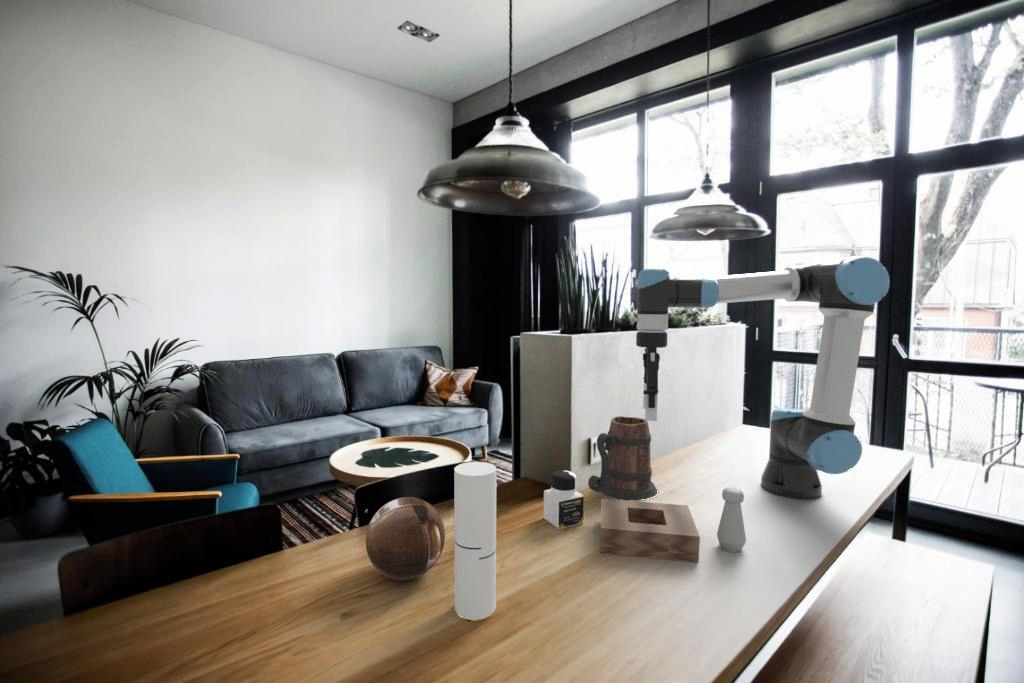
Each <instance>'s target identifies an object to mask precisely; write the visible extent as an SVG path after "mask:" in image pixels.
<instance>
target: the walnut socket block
mask: <svg viewBox="0 0 1024 683" xmlns="http://www.w3.org/2000/svg"><path fill="white" fill-rule="evenodd" d="M600 502H601V503H600V504H601V506H600V533H599V536H600V539H599V553H600V554H607V553H608V554H609V555H619V556H621V555H622V556H627V555H628V556H631V557H640V558H648V559H649V558H650V559H661V560H670V561H681V562H690V563H692V562H693V563H699V562H700V539H701V536H700V534H699V531H698V529H697V526H696V523H695V521H694V518H693V516H692V513H691V511H690V507H689V505H687V504H685V505H684V504H672V503H661V502H649V501H648V502H645V501H627V500H620V499H612V498H610V499H609V498H608V499H607V498H601V501H600Z"/></svg>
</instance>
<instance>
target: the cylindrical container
mask: <svg viewBox="0 0 1024 683" xmlns="http://www.w3.org/2000/svg"><path fill="white" fill-rule="evenodd" d="M453 470H454V474H453V476H454V478H453V480H454V484H453V485H454V489H453V490H454V492H453V494H454V502H453V503H454V505H453V506H454V507H453V509H454V512H453V513H454V514H453V515H454V516H453V517H454V527H453V528H454V612H455V611H456V612H457V613H458V614H459V615H461V616H462V617H464V618H467V619H475V620H476V619H481V618H485V617H487V616H490V615H491V614H492V613H493V612H494V611H495V609H496V610H497V466H496V465H495V464H492V463H489V462H483V461H469V462H468V461H467V462H463V463H459V464H458V465H456V466H455V467H454V468H453ZM495 612H496V611H495Z"/></svg>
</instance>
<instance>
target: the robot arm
mask: <svg viewBox="0 0 1024 683" xmlns="http://www.w3.org/2000/svg"><path fill="white" fill-rule="evenodd" d="M637 276H638V277H637V278H638V279H637V287H636V290H637V295H636V296H637V303H636V304H637V305H636V306H637V309H636V310H637V311H636V312H637V313H636V315H637V317H634V322H636V329H637V330H639V331H637V332H636V337H635V338H636V339H635V340H636V341H635V344H636V346H637V347H639V348H644V353H643V354H642V360H643V370H644V372H643V373H644V374H643V393H642V394H643V400H642V401H643V402H642V403H643V404H642V408H643V409H644V410H645V411H644V419H645V421H647V422H658V421H657V420H658V396H659V395H658V393H659V371H660V370H659V369H660V362H661V361H660V359H661V357H660V353H659V352H658V350H657V349H658V348H659V349H663V348H666V347H667V346H668V333H667V332H666V331H667V330H668V329H669V308H684V309H685V308H691V309H692V308H694V309H695V308H696V309H697V308H698V309H699V308H700V309H704V308H713V307H715V306H716V305H717V304H726V303H727V304H728V303H730V304H731V303H740V302H741V303H743V302H744V303H745V302H756V301H769V300H785V301H786V302H788V303H789V302H791V303H792V302H809V303H819V304H818V310H819V311H820V313H821V314H822V315H823V322H822V329H821V336H820V342H819V350H818V356H817V363H816V366H815V367H816V368H815V375H814V381H813V388H812V393H811V400H810V407H809V408H808V409H803V408H775V409H774V410H772V412H771V417H770V420H769V422H770V431H769V432H770V434H769V456H768V461H767V463H766V466H765V467H764V470H763V473H761V474H762V475H761V479H760V485H761V486H762V488H764V489H765V490H767V491H768V492H770V493H773V494H776V495H779V496H783V497H787V498H788V497H789V498H794V499H815V498H819V497H821V496H822V489H823V486H822V482H821V479H820V476H819V472H818V471H820V472H822V473H825V474H829V475H839V474H843V473H847V472H849V470H851V469H853V468H854V467H855V466H857V464H858V463H859V462H860V460H861V457H862V453H863V445H862V442H861V441H860V440H859V438H858V437H857V435H855V427H856V421H855V420H854V419H853V417H852V416H851V415H850V413H851V408H852V406H851V405H852V399H853V396H854V395H853V394H854V390H855V389H854V388H855V383H856V376H857V369H858V364H859V357H860V351H861V344H862V339H863V332H864V326H865V320H867V319H868V318H870V316H872V315H873V314H874V311H875V305H876V304H877V303H878V302H880V301H882V299H883V298H885V296H887V294H888V292H889V289H890V284H891V282H890V276H889V272H888V270H887V268H886V267H885V266H884V265H883V264H882V263H881V262H880V261H879V260H878V259H875V258H874V257H869V256H865V255H863V256H862V255H861V256H860V255H859V256H858V255H856V256H855V255H854V256H853V255H852V256H851V255H850V256H847V257H841V258H834V259H825V260H824V259H823V260H819V261H816V262H811V263H808V264H802V265H796V266H795V265H794V266H787V267H785V268H784V269H783V270H780V271H778V270H777V271H766V272H765V271H764V272H755V273H753V272H752V273H741V274H728V275H717V276H716V275H715V276H701V277H697V276H695V277H675V276H671V275H670V271H669V270H668V269H667V268H646V269H645V268H644V269H642V270H640V271H639V273H638V275H637Z"/></svg>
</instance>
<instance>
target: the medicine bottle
mask: <svg viewBox="0 0 1024 683" xmlns="http://www.w3.org/2000/svg"><path fill="white" fill-rule="evenodd" d="M577 477H578V476H577V475H576V473H575V472H572V471H569V470H564V469H563V470H557V471H554V472H553V473H552V474H551V476H550V478H551V480H550V481H551V482H550V483H551V484H550V488H549V489H545V490H544V491H543V519H545V521H547V522H548V523H549V524H551V525H553V527H556V529H558V530H563V529H566V528H570V527H571V528H572V527H574V526H578V525H582V524H584V513H585V512H584V511H585V510H584V506H585V505H584V503H585V502H584V501H585V495H584V494H583V493H580V492H579V491H577Z"/></svg>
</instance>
